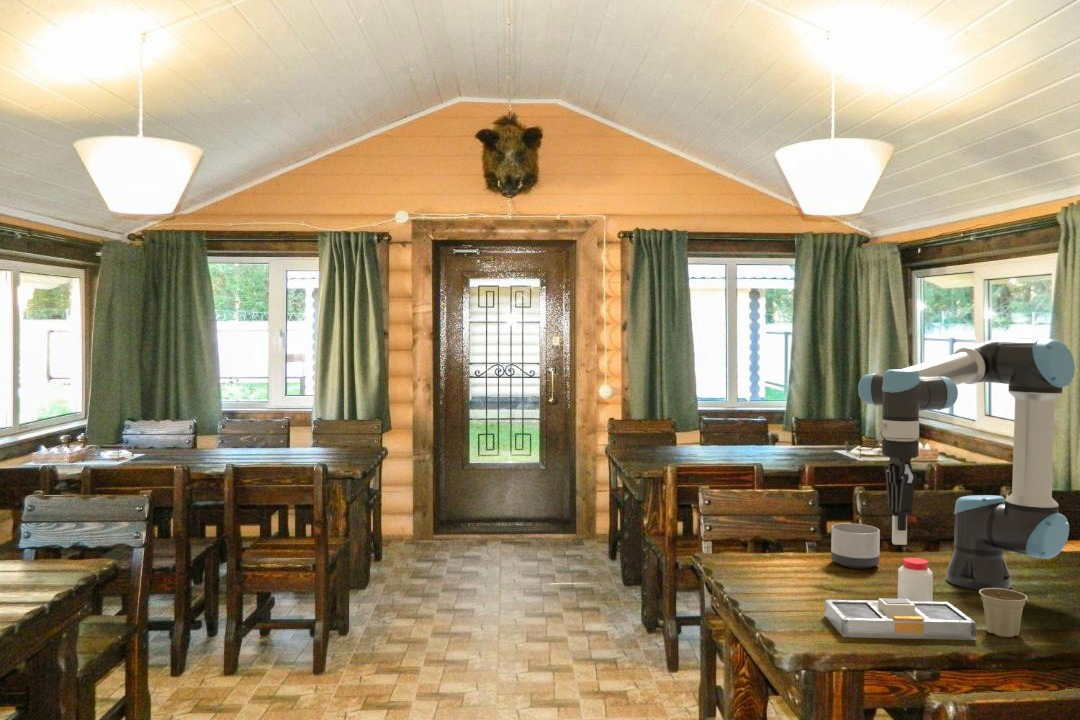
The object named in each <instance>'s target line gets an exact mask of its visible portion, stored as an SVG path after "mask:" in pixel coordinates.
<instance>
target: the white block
mask: <svg viewBox="0 0 1080 720" xmlns="http://www.w3.org/2000/svg"><path fill="white" fill-rule="evenodd" d="M877 601H878V610H879V611H881V612H882V613H883V614H884V615H885V616H886V617H887V618H888V619H893V616H915V605H914V604H913V603H912V602H911V601H910V600H908V599H898V598H884V597H883V598H878V599H877Z"/></svg>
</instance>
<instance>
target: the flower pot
mask: <svg viewBox="0 0 1080 720" xmlns="http://www.w3.org/2000/svg"><path fill="white" fill-rule="evenodd" d="M978 593H979V595H980V598H981V601H982V604H983V606H982V607H983V612H984V617H985V618H984V619H985V626H986V631H987V632H988V633H989V634H994V635H996V636H998V637H1003V638H1005V637H1006V638H1014V637H1015V636H1016V637H1018V636H1019V635H1020V634H1019V633H1020V627H1021V621H1022V615H1023V610H1024V607H1025V605H1026V601H1028V596H1027V595H1026V594H1025V593H1023V592H1019V591H1017V590H1016V591H1015V590H1012V589H1001V588H985V589H981V590H978Z"/></svg>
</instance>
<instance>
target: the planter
mask: <svg viewBox="0 0 1080 720" xmlns="http://www.w3.org/2000/svg"><path fill="white" fill-rule="evenodd" d="M880 532H881V530H880V529H879V528H877V527H875V526H873V525H868V524H862V523H846V522H845V523H837V524H833V525H832V526H831V541H830V542H831V548H830V553H831V555H830V559H831V560H832V561H833V562H834V563H836V564H838V565H840V566H842V567H844V568H848V569H854V568H855V569H858V570H863V569H864V570H865V569H871V568H873V567H875V566H877V565H879V563H880V545H881V544H880V543H881V542H880V538H881V537H880V536H881V535H880ZM855 569H854V570H855Z"/></svg>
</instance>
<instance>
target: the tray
mask: <svg viewBox="0 0 1080 720" xmlns="http://www.w3.org/2000/svg"><path fill="white" fill-rule="evenodd" d="M911 602H912V603H913V604H914V605H915V616H893V619H888V618H887V617H886V616H885V615H884V614H883V613H882V612H881V611H879V610H878V600H871V599H869V600H864V599H863V600H861V599H860V600H859V599H824V616H825V618H826V617H827V618H826V619H827V620H828V622H829V623H830V624H832V626H833V627H834V628H835V630H836V631H837V632H838V633H839V634H840V636H841V637H842V638H857V639H859V638H863V639H865V638H868V639H904V640H905V639H907V640H908V639H909V640H910V639H911V640H918V639H919V640H953V641H954V640H956V641H957V640H959V641H961V640H962V641H967V640H968V641H976V638H977V637H976V632H977V631H976V627H977V623H976V622H975V620H973V619H972V618H970V617H969V616H968V615H966V613H963V611H961V610H959V608H957V607H956V606H954V605H953V604H952V603H951V602H949V601H932V602H925V601H911Z"/></svg>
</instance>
